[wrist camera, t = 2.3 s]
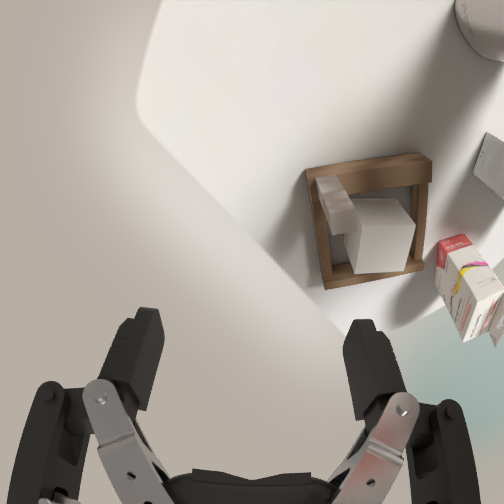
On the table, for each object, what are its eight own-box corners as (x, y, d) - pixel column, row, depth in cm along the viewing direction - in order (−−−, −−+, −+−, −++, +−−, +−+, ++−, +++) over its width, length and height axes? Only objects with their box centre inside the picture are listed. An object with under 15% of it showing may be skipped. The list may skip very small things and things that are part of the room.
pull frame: (420, 152, 26) (469, 190, 18) (415, 256, 34) (444, 309, 26) (304, 169, 28) (320, 214, 21) (321, 275, 37) (333, 335, 29)
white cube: (347, 197, 31) (362, 225, 26) (395, 198, 30) (416, 224, 25) (343, 242, 34) (354, 274, 29) (387, 241, 34) (403, 271, 29)
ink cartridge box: (436, 240, 33) (487, 321, 21) (463, 232, 32) (518, 306, 20) (432, 284, 38) (469, 362, 26) (457, 276, 36) (498, 348, 25)
